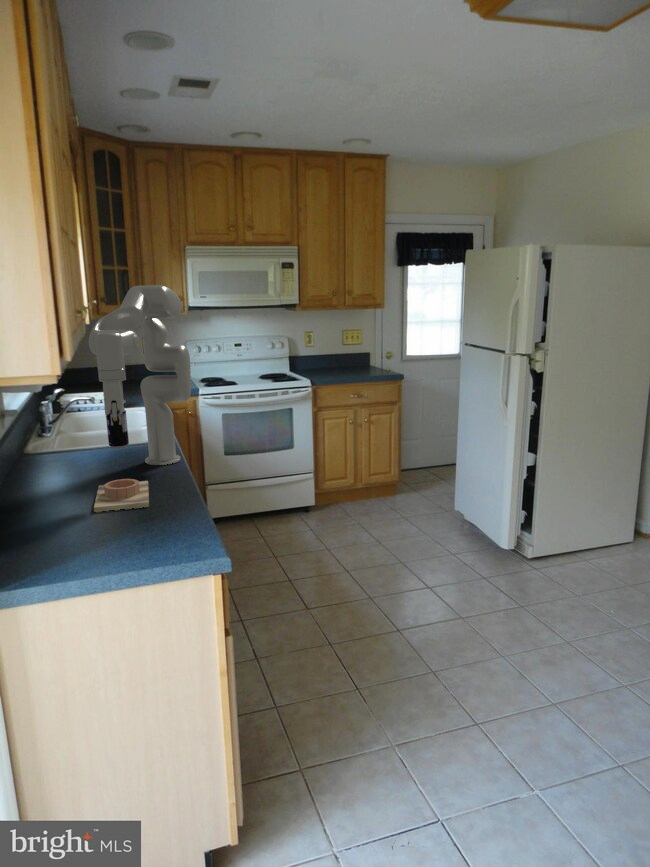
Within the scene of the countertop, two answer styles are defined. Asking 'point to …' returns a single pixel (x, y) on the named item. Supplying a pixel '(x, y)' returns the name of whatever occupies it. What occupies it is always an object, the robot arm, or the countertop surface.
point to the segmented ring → (121, 488)
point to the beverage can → (123, 441)
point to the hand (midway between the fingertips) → (117, 435)
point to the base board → (122, 500)
